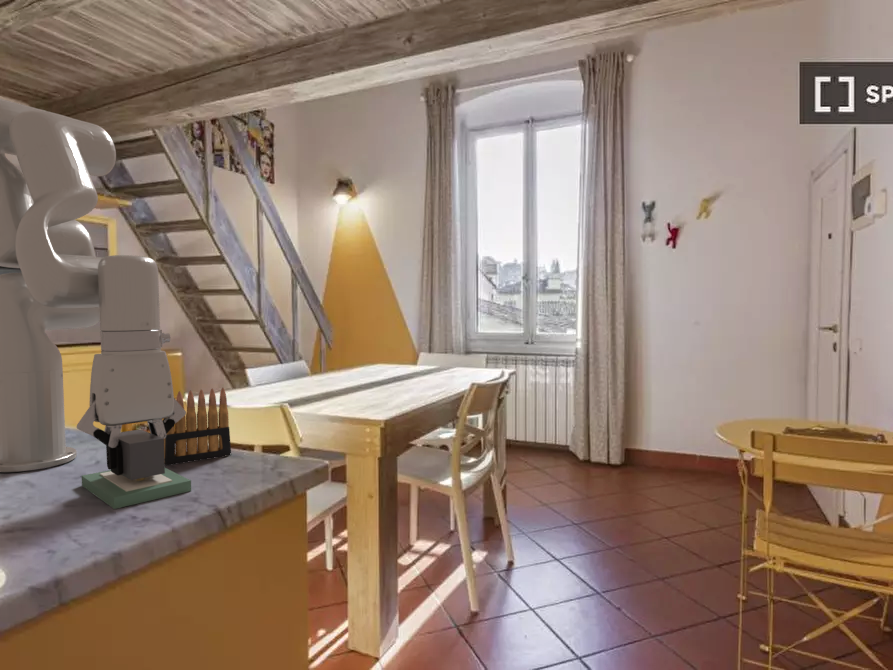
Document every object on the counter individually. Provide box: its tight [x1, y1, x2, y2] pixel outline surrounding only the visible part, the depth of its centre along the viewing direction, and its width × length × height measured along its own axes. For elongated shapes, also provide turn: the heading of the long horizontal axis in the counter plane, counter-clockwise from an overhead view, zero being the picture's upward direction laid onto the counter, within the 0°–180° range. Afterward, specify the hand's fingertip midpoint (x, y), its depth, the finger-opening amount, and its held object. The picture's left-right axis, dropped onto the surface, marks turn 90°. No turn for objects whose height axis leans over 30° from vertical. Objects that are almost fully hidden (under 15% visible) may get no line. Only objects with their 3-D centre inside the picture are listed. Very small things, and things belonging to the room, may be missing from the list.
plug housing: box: [119, 429, 166, 480], centre depth 84 cm, size 9×4×5 cm, turn 47°
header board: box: [81, 467, 192, 510], centre depth 84 cm, size 14×10×5 cm
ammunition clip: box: [163, 387, 232, 466], centre depth 99 cm, size 11×2×12 cm, turn 127°
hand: (136, 468), depth 84 cm, fingers closed on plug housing, 4 cm apart
